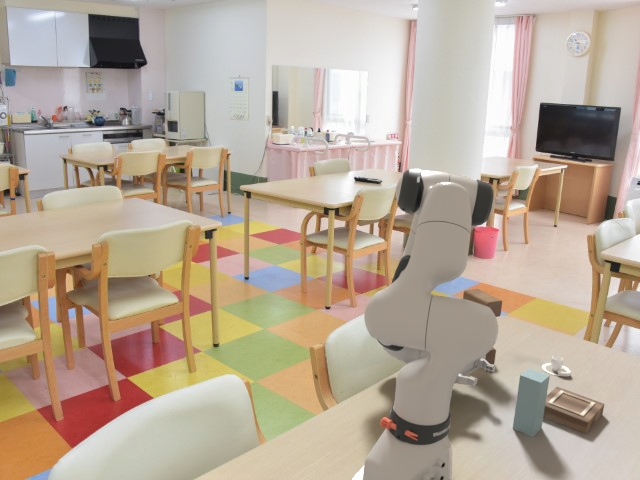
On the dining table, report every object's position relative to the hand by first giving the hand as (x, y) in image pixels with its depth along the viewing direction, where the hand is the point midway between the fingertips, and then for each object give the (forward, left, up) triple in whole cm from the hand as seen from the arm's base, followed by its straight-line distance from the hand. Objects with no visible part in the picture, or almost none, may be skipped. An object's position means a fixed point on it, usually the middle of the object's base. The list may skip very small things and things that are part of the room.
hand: (485, 376), depth 148 cm
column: (0, -12, -9) cm, 15 cm away
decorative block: (+25, +15, -9) cm, 30 cm away
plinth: (+14, -17, -9) cm, 24 cm away
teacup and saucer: (+33, -5, -10) cm, 34 cm away
